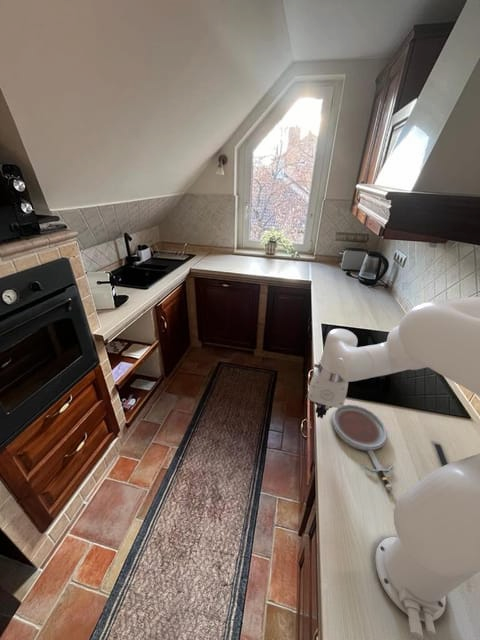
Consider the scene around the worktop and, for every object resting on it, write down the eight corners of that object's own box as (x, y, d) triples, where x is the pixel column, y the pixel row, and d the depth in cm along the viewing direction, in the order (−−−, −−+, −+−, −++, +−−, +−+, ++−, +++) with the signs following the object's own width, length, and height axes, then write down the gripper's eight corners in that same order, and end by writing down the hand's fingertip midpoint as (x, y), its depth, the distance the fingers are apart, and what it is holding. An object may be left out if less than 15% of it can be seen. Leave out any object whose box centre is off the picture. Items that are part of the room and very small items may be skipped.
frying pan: (360, 488, 66) (325, 402, 90) (357, 494, 67) (323, 408, 91) (423, 487, 67) (372, 402, 91) (419, 492, 68) (369, 408, 92)
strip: (454, 482, 70) (454, 482, 70) (447, 480, 71) (448, 480, 71) (439, 445, 80) (440, 445, 80) (434, 443, 81) (434, 443, 80)
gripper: (304, 372, 70) (294, 416, 79) (362, 386, 66) (344, 431, 75) (307, 356, 76) (297, 399, 85) (360, 368, 72) (344, 412, 81)
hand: (319, 414), depth 80 cm, fingers closed
